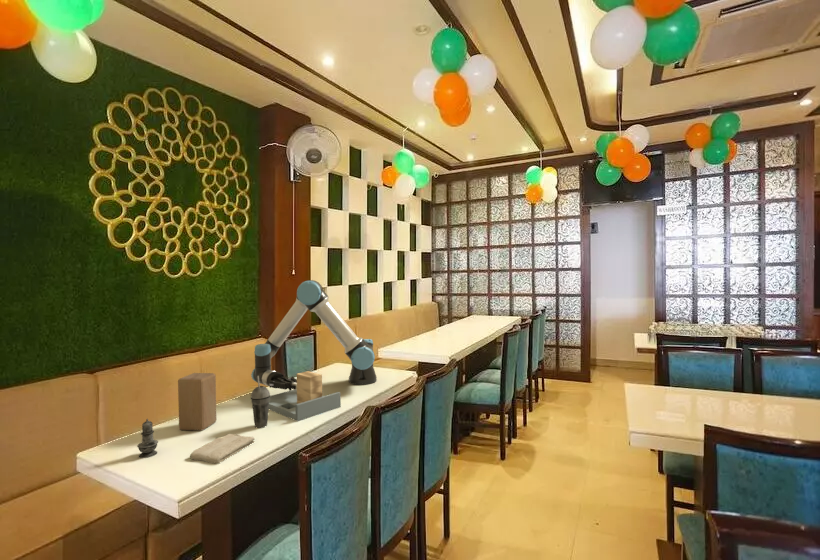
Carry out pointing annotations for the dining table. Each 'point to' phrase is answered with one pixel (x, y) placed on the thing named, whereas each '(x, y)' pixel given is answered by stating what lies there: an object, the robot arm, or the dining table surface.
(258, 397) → the beverage cup
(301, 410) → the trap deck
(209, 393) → the block
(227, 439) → the washcloth
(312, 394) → the oak block
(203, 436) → the dining table surface
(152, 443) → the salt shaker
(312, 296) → the robot arm
